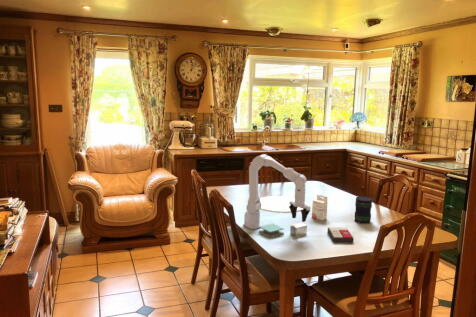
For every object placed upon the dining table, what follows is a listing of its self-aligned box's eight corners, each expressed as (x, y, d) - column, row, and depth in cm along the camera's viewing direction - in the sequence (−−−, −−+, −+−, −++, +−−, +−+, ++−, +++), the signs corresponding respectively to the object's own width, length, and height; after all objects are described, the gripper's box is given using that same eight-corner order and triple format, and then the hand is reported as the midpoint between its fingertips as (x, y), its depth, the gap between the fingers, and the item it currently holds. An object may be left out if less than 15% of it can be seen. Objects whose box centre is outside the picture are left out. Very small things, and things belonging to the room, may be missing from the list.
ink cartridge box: (311, 217, 251) (312, 195, 249) (315, 215, 255) (316, 194, 252) (322, 220, 245) (323, 198, 243) (326, 218, 249) (328, 196, 246)
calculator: (333, 236, 208) (327, 226, 223) (332, 244, 209) (327, 233, 224) (353, 237, 208) (346, 226, 222) (353, 244, 209) (346, 233, 223)
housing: (288, 233, 221) (289, 225, 220) (301, 230, 226) (302, 222, 225) (294, 236, 217) (295, 228, 216) (307, 233, 222) (308, 225, 221)
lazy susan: (246, 209, 268) (246, 204, 267) (259, 195, 305) (259, 191, 304) (303, 215, 256) (304, 210, 256) (310, 200, 293) (311, 196, 293)
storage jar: (369, 219, 249) (371, 197, 246) (371, 224, 239) (373, 201, 237) (353, 218, 251) (355, 196, 248) (354, 223, 241) (356, 199, 239)
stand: (259, 232, 222) (259, 226, 222) (272, 229, 228) (272, 223, 227) (269, 237, 214) (270, 231, 214) (283, 234, 220) (283, 228, 219)
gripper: (285, 194, 221) (284, 217, 223) (304, 200, 210) (303, 224, 212) (294, 193, 225) (293, 215, 228) (313, 198, 214) (312, 222, 216)
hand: (298, 219), depth 220 cm, fingers open, 7 cm apart
